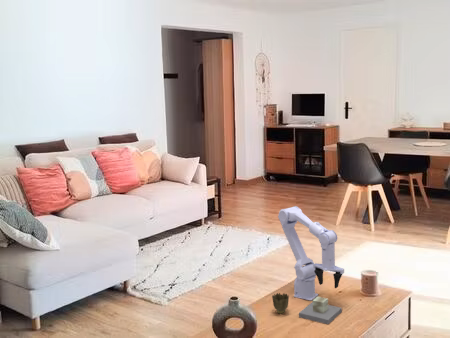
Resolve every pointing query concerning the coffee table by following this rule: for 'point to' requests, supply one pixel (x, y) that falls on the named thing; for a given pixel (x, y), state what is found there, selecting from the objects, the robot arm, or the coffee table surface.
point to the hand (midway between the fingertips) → (328, 285)
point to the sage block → (320, 304)
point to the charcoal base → (320, 314)
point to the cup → (280, 302)
